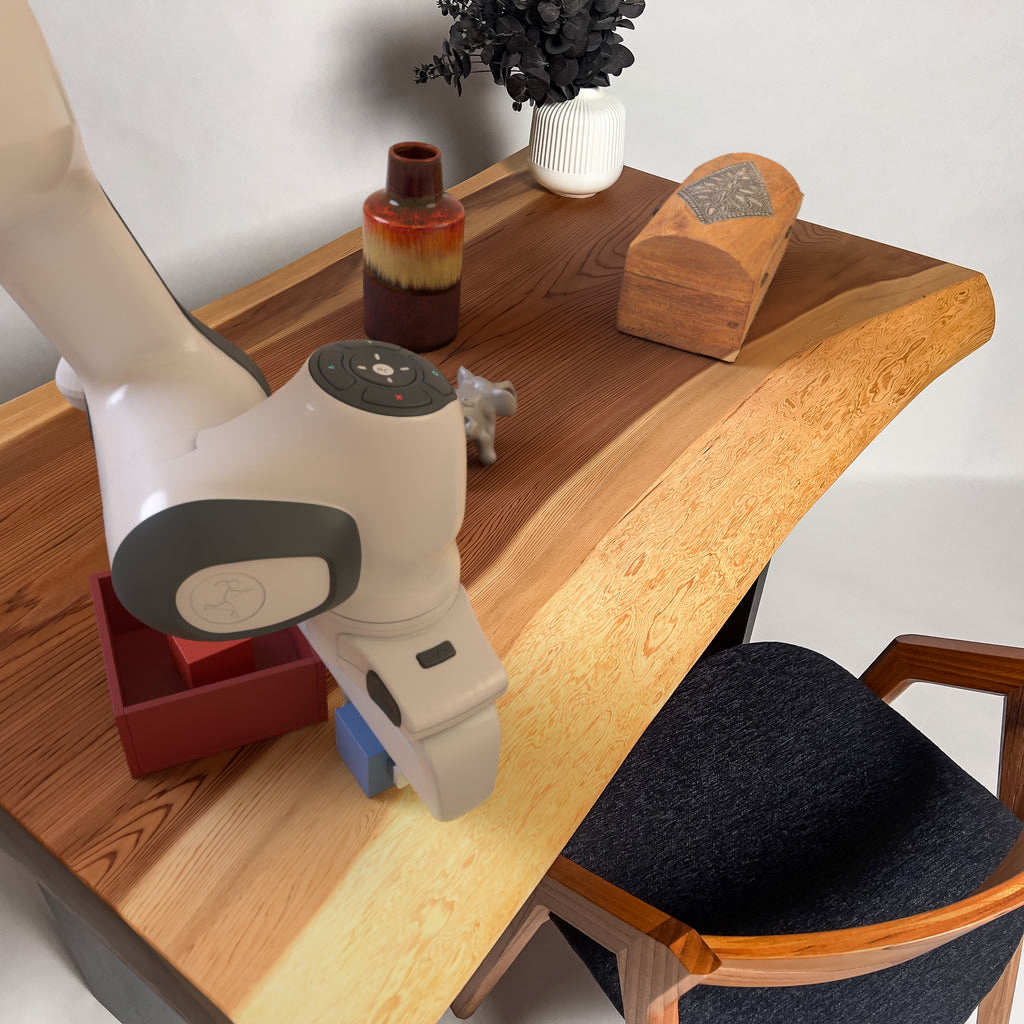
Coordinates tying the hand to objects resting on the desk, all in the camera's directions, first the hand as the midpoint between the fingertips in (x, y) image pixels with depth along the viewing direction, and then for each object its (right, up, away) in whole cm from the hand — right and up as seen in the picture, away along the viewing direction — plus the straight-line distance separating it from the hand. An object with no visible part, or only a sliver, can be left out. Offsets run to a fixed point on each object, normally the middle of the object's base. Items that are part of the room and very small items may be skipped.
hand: (381, 745), depth 65 cm
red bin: (-13, +4, +5) cm, 14 cm away
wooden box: (+33, +43, +58) cm, 79 cm away
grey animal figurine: (+4, +22, +29) cm, 36 cm away
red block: (-13, +4, +5) cm, 14 cm away
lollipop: (-25, +17, +19) cm, 36 cm away
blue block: (0, -1, +1) cm, 2 cm away
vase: (-3, +37, +45) cm, 58 cm away
